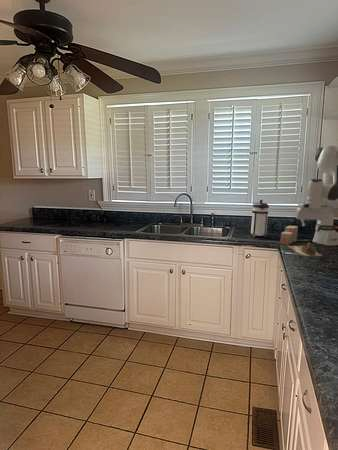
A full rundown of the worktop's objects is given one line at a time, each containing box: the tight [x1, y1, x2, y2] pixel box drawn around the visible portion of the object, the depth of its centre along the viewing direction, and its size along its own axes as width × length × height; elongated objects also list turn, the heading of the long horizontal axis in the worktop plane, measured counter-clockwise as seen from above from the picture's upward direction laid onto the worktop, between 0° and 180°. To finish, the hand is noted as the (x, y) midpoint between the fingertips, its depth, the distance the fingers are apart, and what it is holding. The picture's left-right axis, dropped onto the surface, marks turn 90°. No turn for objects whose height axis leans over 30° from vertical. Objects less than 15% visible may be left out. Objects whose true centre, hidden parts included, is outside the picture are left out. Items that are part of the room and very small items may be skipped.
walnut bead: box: [301, 245, 317, 254], centre depth 201 cm, size 6×6×4 cm
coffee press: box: [249, 199, 270, 239], centre depth 252 cm, size 17×16×30 cm
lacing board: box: [287, 242, 324, 259], centre depth 206 cm, size 14×24×8 cm, turn 1°
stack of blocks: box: [279, 224, 299, 246], centre depth 231 cm, size 21×6×12 cm, turn 143°
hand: (311, 226), depth 198 cm, fingers open, 8 cm apart
